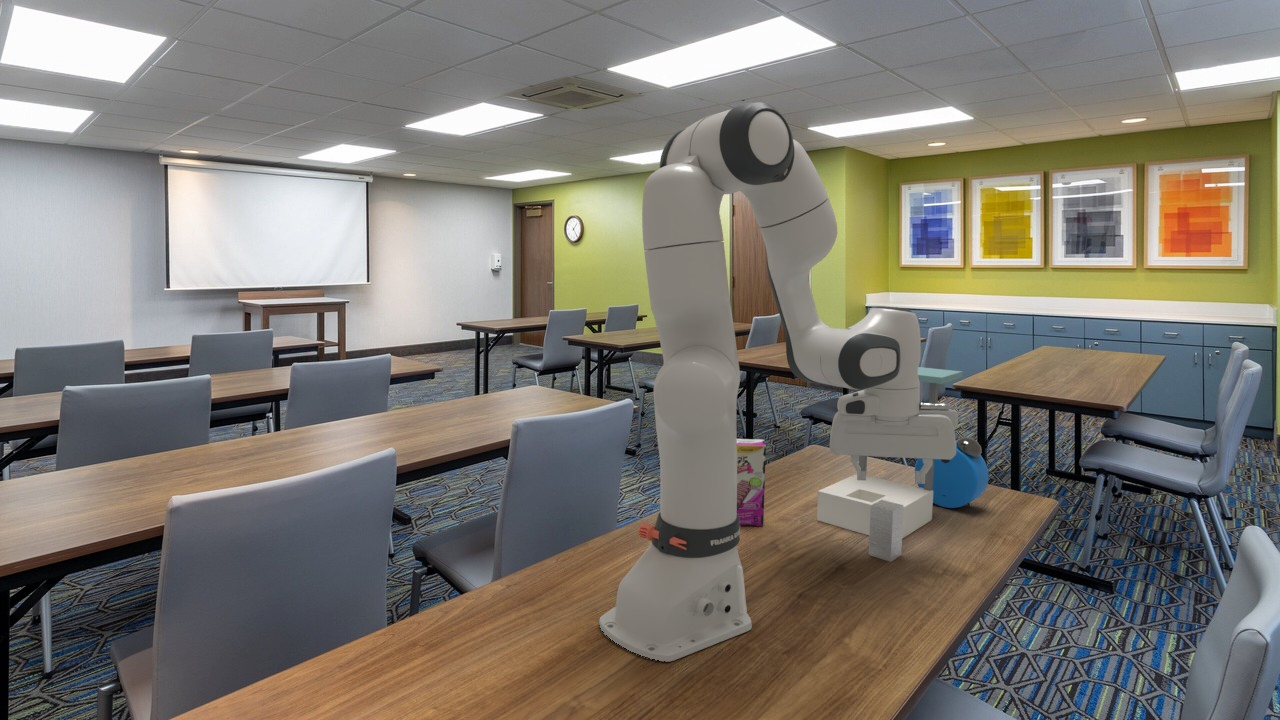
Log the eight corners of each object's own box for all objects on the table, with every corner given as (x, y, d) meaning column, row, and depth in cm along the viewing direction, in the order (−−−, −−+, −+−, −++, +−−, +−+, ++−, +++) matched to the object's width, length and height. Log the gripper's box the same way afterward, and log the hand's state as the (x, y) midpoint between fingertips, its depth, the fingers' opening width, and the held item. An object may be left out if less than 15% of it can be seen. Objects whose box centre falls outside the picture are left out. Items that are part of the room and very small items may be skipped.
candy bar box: (706, 525, 133) (707, 443, 130) (706, 516, 138) (707, 437, 135) (764, 527, 132) (766, 444, 129) (762, 518, 137) (764, 438, 134)
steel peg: (890, 561, 116) (893, 511, 115) (868, 554, 119) (870, 505, 118) (901, 554, 119) (903, 505, 118) (879, 548, 122) (881, 499, 121)
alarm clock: (987, 509, 140) (992, 438, 138) (974, 517, 136) (979, 443, 134) (925, 493, 150) (929, 427, 148) (911, 500, 146) (915, 431, 144)
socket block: (905, 546, 122) (913, 385, 118) (808, 517, 137) (812, 373, 133) (954, 514, 138) (962, 371, 134) (861, 491, 152) (867, 361, 148)
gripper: (955, 399, 116) (953, 479, 117) (830, 397, 121) (830, 472, 123) (961, 407, 110) (959, 490, 111) (829, 404, 115) (829, 483, 117)
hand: (890, 481), depth 117 cm, fingers open, 8 cm apart
